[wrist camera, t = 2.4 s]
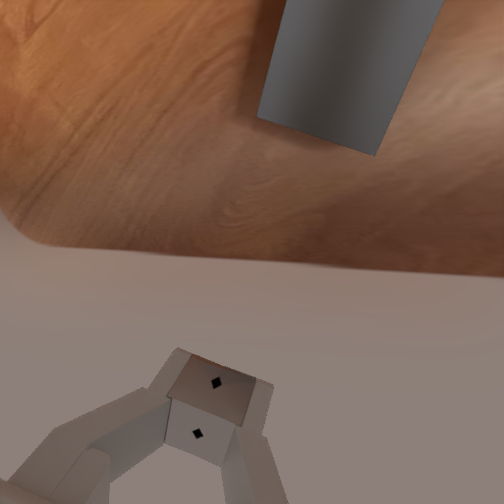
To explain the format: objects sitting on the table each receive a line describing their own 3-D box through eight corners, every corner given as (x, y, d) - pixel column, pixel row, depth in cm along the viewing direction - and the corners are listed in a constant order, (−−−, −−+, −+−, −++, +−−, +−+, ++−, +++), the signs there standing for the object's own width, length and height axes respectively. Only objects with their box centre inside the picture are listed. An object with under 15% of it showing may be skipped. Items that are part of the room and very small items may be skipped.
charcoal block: (445, -34, 19) (480, -81, 14) (369, 142, 24) (374, 156, 19) (327, -66, 20) (318, -121, 15) (276, 111, 25) (256, 116, 19)
